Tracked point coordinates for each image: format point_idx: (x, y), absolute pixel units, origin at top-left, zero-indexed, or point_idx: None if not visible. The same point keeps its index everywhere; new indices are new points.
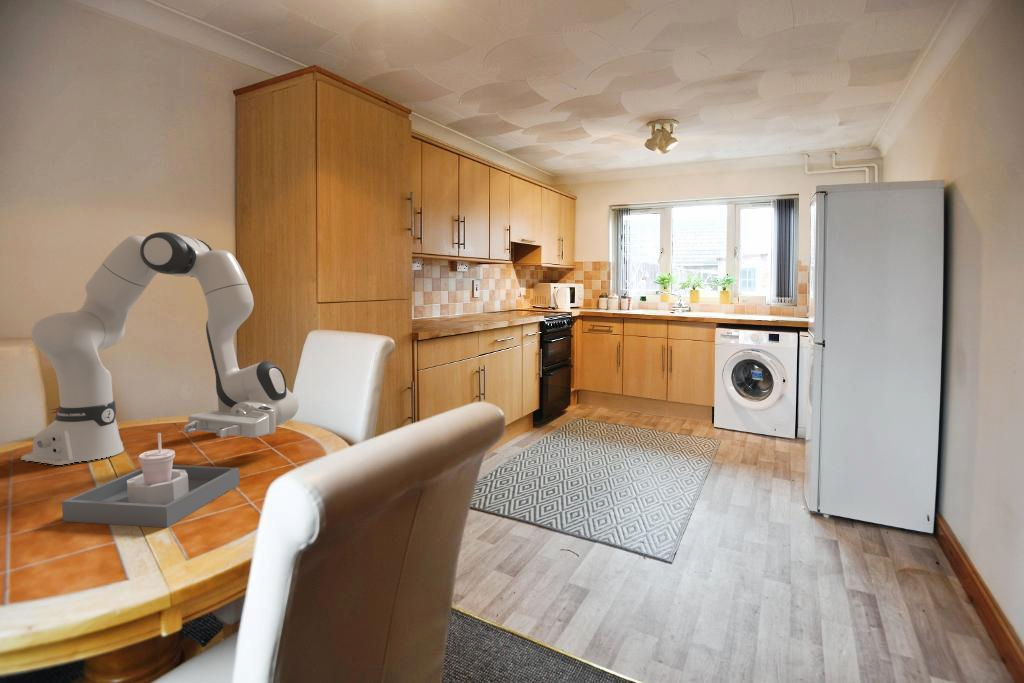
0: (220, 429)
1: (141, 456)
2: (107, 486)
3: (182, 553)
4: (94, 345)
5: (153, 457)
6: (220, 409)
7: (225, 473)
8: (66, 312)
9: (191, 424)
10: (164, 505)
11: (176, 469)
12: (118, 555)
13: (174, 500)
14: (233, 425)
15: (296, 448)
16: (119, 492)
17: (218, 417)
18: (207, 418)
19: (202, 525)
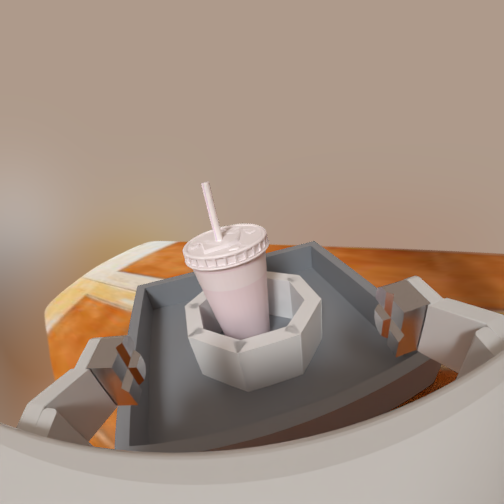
0: (102, 340)
1: (242, 226)
2: (346, 277)
3: (95, 296)
4: None
5: (209, 235)
6: None
7: (126, 412)
8: None
9: (419, 298)
10: (144, 287)
11: (267, 344)
12: (155, 276)
13: (141, 297)
14: (51, 419)
15: None
16: (360, 312)
17: (392, 489)
18: (461, 378)
19: (105, 331)
